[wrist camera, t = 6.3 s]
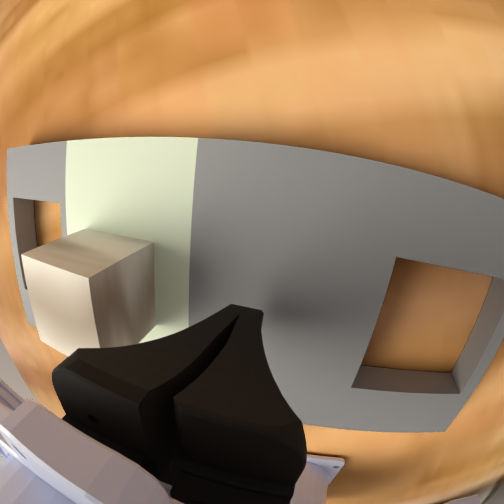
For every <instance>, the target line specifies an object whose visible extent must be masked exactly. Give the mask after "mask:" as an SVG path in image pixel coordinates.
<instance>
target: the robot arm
mask: <svg viewBox="0 0 504 504" xmlns="http://www.w3.org/2000/svg"><path fill="white" fill-rule="evenodd" d="M263 316H264V313H263V311H262V310H259V309H254V308H249V307H244V306H240V305H235V304H230V305H228V306H226V307H225V308H223V309H221V310H220V311H218V312H216V313H215V314H213V315H211V316H209V317H208V318H206V319H204V320H202V321H200V322H198V323H196V324H194V325H192V326H190V327H188V328H186V329H184V330H181V331H179V332H177V333H174V334H171V335H168V336H165V337H162V338H159V339H156V340H151V341H147V342H143V343H139V344H134V345H127V346H120V347H110V348H78V349H77V350H76V351H74V352H73V353H72V354H71V355H70V356H69V357H67V358H66V359H65V360H64V361H63V362H62V363H60V364H59V365H58V366H57V367H56V368H55V369H54V370H53V372H52V382H53V386H54V389H55V391H56V393H57V396H58V398H59V400H60V402H61V405H62V407H63V409H64V411H65V413H66V415H65V416H64V417H63V418H62V419H61V418H59V417H58V416H56V415H55V414H54V413H52V412H51V411H49V410H48V409H47V408H45V407H44V406H42V405H41V404H39V403H37V402H35V401H33V400H31V399H26V400H24V399H23V398H22V397H20V396H19V395H18V394H17V393H16V392H14V391H13V390H12V389H11V388H10V387H9V386H8V385H7V384H6V383H5V382H4V381H3V380H1V379H0V456H1V457H2V458H3V459H4V460H5V461H4V462H3V463H2V464H1V465H0V504H326V496H327V486H328V485H329V484H330V483H331V481H332V480H333V479H334V478H335V476H336V475H337V474H338V472H339V471H340V470H341V468H342V467H343V466H344V464H345V460H344V459H343V458H338V457H327V456H318V455H310V454H307V447H306V439H305V434H304V429H303V425H302V421H301V420H300V419H299V418H298V416H297V415H296V414H295V413H294V411H293V410H292V409H291V407H290V406H289V404H288V403H287V401H286V400H285V398H284V397H283V395H282V393H281V391H280V389H279V387H278V386H277V384H276V382H275V380H274V378H273V375H272V373H271V370H270V368H269V365H268V362H267V359H266V355H265V351H264V346H263V341H262V332H261V329H262V322H263ZM444 504H481V503H480V498H479V495H477V494H476V495H472V496H468V497H464V498H460V499H455V500H452V501H449V502H447V503H444Z"/></svg>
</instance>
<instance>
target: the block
mask: <svg viewBox="0 0 504 504" xmlns="http://www.w3.org/2000/svg"><path fill="white" fill-rule="evenodd" d="M21 257H22V263H23V269H24V274H25V280H26V285H27V289H28V294H29V298H30V303H31V307H32V311H33V315H34V318H35V322H36V326H37V329H38V332H39V336H40V339H41V341H43V342H44V343H46V344H48V345H49V346H51V347H53V348H54V349H56V350H58V351H59V352H61V353H63V354H65V355H67V356H68V357H69V356H70V355H71V354H72V353H73V352H74V351H76V350H77V349H78V348H110V347H120V346H127V345H134V344H138V343H139V342H140V341H141V340H142V339H143V338H144V337H145V336H146V335H147V334H148V333H149V332H150V331H151V330H152V329H153V328H154V327H155V326H156V310H155V286H154V242H151V241H146V240H141V239H136V238H131V237H125V236H120V235H115V234H110V233H105V232H100V231H95V230H90V229H83V230H80V231H78V232H75V233H72V234H70V235H67V236H65V237H62V238H59V239H57V240H54V241H52V242H49V243H47V244H44V245H42V246H39V247H37V248H35V249H32V250H30V251H27V252H25V253H23V254H21Z"/></svg>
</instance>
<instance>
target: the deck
mask: <svg viewBox="0 0 504 504" xmlns="http://www.w3.org/2000/svg"><path fill="white" fill-rule="evenodd" d="M33 200H39V201H48V202H56V203H60V206H61V226H62V237H65V236H67V235H70V234H72V233H75V232H78V231H80V230H83V229H90V230H95V231H100V232H105V233H110V234H115V235H120V236H125V237H131V238H136V239H141V240H146V241H151V242H154V286H155V310H156V326H155V327H154V328H153V329H152V330H151V331H150V332H149V333H148V334H147V335H146V336H145V337H144V338H143V339H142V340H141V341H140V342H139V343H143V342H147V341H151V340H156V339H159V338H162V337H165V336H168V335H171V334H174V333H177V332H179V331H181V330H184V329H186V328H188V327H190V326H192V325H194V324H196V323H198V322H200V321H202V320H204V319H206V318H208V317H209V316H211V315H213V314H215V313H216V312H218V311H220V310H221V309H223V308H225V307H226V306H228V305H230V304H235V305H240V306H244V307H249V308H254V309H259V310H262V311H263V313H264V316H263V322H262V329H261V332H262V341H263V346H264V351H265V355H266V359H267V362H268V365H269V368H270V370H271V373H272V375H273V378H274V380H275V382H276V384H277V386H278V387H279V389H280V391H281V393H282V395H283V397H284V398H285V400H286V401H287V403H288V404H289V406H290V407H291V409H292V410H293V411H294V413H295V414H296V415H297V416H298V418H299V419H300V420H301V421H302V424H307V425H313V426H321V427H329V428H337V429H347V430H359V431H374V432H444V431H446V429H447V428H448V427H449V426H450V424H451V423H452V422H453V420H454V419H455V418H456V416H457V415H458V414H459V412H460V411H461V409H462V408H463V406H464V405H465V404H466V402H467V401H468V399H469V398H470V396H471V395H472V393H473V392H474V390H475V389H476V387H477V385H478V384H479V382H480V380H481V379H482V377H483V376H484V374H485V372H486V370H487V369H488V367H489V365H490V363H491V362H492V360H493V358H494V356H495V354H496V352H497V350H498V348H499V346H500V345H501V343H502V340H503V338H504V199H503V198H500V197H498V196H495V195H493V194H490V193H487V192H484V191H481V190H479V189H476V188H473V187H470V186H467V185H464V184H461V183H457V182H454V181H451V180H448V179H444V178H441V177H438V176H434V175H431V174H427V173H424V172H420V171H416V170H412V169H408V168H404V167H400V166H396V165H392V164H388V163H383V162H379V161H374V160H370V159H365V158H360V157H355V156H350V155H344V154H339V153H333V152H327V151H321V150H315V149H309V148H302V147H295V146H287V145H279V144H270V143H261V142H251V141H240V140H227V139H211V138H190V137H118V138H97V139H82V140H70V141H60V142H51V143H42V144H35V145H27V146H21V147H14V148H8V149H7V201H8V216H9V227H10V236H11V244H12V251H13V257H14V263H15V269H16V274H17V279H18V284H19V289H20V293H21V297H22V302H23V306H24V309H25V313H26V317H27V320H28V323H29V324H31V325H33V326H34V327H36V328H37V326H36V322H35V318H34V315H33V311H32V307H31V303H30V298H29V294H28V289H27V285H26V280H25V274H24V269H23V263H22V257H21V254H23V253H25V252H27V251H30V250H32V249H35V248H37V241H36V231H35V219H34V202H33ZM396 257H399V258H404V259H409V260H414V261H419V262H424V263H429V264H434V265H439V266H444V267H449V268H454V269H458V270H463V271H468V272H473V273H477V274H482V275H487V276H491V277H493V279H492V282H491V285H490V288H489V291H488V293H487V296H486V299H485V301H484V304H483V307H482V309H481V311H480V314H479V316H478V319H477V321H476V323H475V326H474V328H473V330H472V332H471V334H470V337H469V339H468V341H467V343H466V345H465V347H464V349H463V351H462V353H461V355H460V357H459V359H458V361H457V363H456V364H455V366H454V368H453V370H452V372H451V373H442V372H425V371H411V370H400V369H389V368H380V367H371V366H363V365H361V362H362V360H363V357H364V355H365V352H366V350H367V347H368V344H369V342H370V339H371V336H372V334H373V331H374V328H375V325H376V322H377V319H378V316H379V313H380V310H381V307H382V304H383V301H384V298H385V295H386V291H387V288H388V285H389V281H390V278H391V274H392V271H393V267H394V263H395V259H396ZM139 343H138V344H139Z"/></svg>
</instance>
